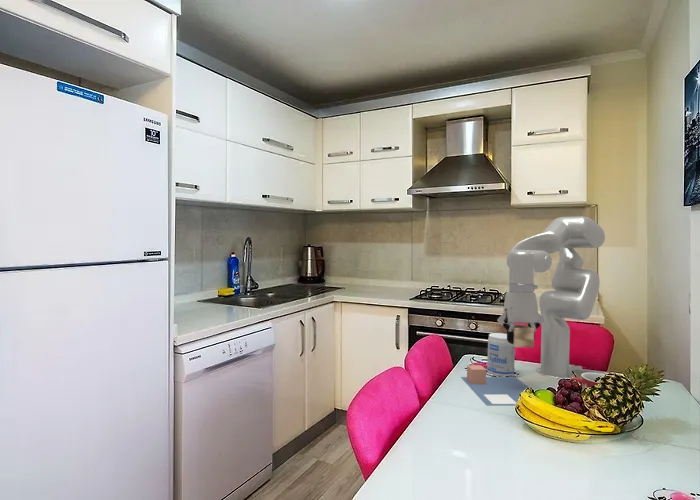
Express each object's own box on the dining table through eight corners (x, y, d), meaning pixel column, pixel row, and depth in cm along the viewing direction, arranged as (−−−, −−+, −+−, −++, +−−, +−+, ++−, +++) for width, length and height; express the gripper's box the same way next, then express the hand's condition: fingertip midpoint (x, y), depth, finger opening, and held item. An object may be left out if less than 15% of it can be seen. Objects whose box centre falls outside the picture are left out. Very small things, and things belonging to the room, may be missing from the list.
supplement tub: (486, 376, 154) (487, 337, 154) (487, 369, 163) (488, 331, 163) (514, 380, 151) (515, 339, 151) (514, 372, 160) (514, 334, 160)
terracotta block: (480, 379, 148) (481, 365, 148) (485, 384, 143) (486, 369, 143) (466, 379, 148) (467, 365, 148) (471, 384, 143) (471, 369, 143)
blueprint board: (515, 379, 151) (515, 376, 151) (552, 408, 125) (552, 405, 125) (460, 379, 150) (460, 376, 150) (486, 408, 124) (486, 405, 124)
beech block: (525, 342, 142) (525, 324, 142) (533, 347, 136) (534, 328, 136) (507, 342, 142) (508, 324, 142) (515, 347, 136) (515, 328, 136)
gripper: (541, 287, 142) (540, 339, 143) (491, 287, 142) (490, 340, 142) (552, 289, 135) (552, 345, 135) (499, 290, 134) (499, 346, 135)
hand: (520, 342), depth 139 cm, fingers closed on beech block, 6 cm apart
